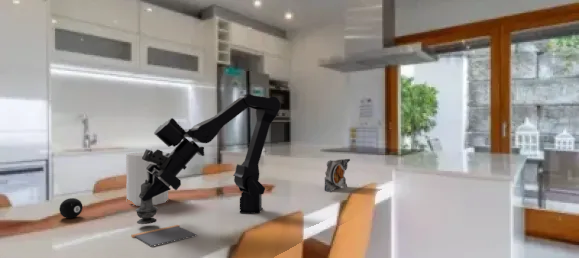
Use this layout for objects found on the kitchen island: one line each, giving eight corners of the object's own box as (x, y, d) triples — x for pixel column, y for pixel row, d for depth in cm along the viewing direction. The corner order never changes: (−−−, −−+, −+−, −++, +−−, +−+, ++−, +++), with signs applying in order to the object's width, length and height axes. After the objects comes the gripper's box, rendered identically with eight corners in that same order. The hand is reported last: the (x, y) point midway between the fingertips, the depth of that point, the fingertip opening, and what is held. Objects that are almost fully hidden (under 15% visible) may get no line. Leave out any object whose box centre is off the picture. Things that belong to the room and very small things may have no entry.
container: (143, 208, 125) (142, 156, 124) (118, 203, 132) (118, 154, 132) (176, 200, 137) (176, 153, 136) (152, 196, 144) (151, 151, 144)
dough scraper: (131, 236, 94) (131, 234, 93) (177, 226, 103) (177, 224, 103) (149, 247, 86) (149, 245, 86) (198, 235, 95) (198, 233, 95)
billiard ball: (74, 214, 115) (74, 195, 115) (86, 216, 113) (86, 197, 113) (55, 218, 110) (55, 199, 110) (67, 221, 107) (67, 201, 107)
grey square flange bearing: (332, 192, 152) (333, 161, 152) (324, 191, 155) (324, 161, 155) (350, 187, 164) (350, 158, 164) (341, 186, 167) (342, 158, 166)
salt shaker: (150, 224, 99) (149, 181, 98) (131, 223, 100) (130, 180, 100) (161, 219, 105) (161, 178, 104) (143, 218, 106) (143, 177, 105)
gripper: (152, 137, 112) (114, 176, 106) (168, 140, 96) (123, 186, 90) (178, 161, 116) (143, 199, 110) (197, 167, 100) (157, 212, 95)
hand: (141, 198), depth 101 cm, fingers closed on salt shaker, 4 cm apart
